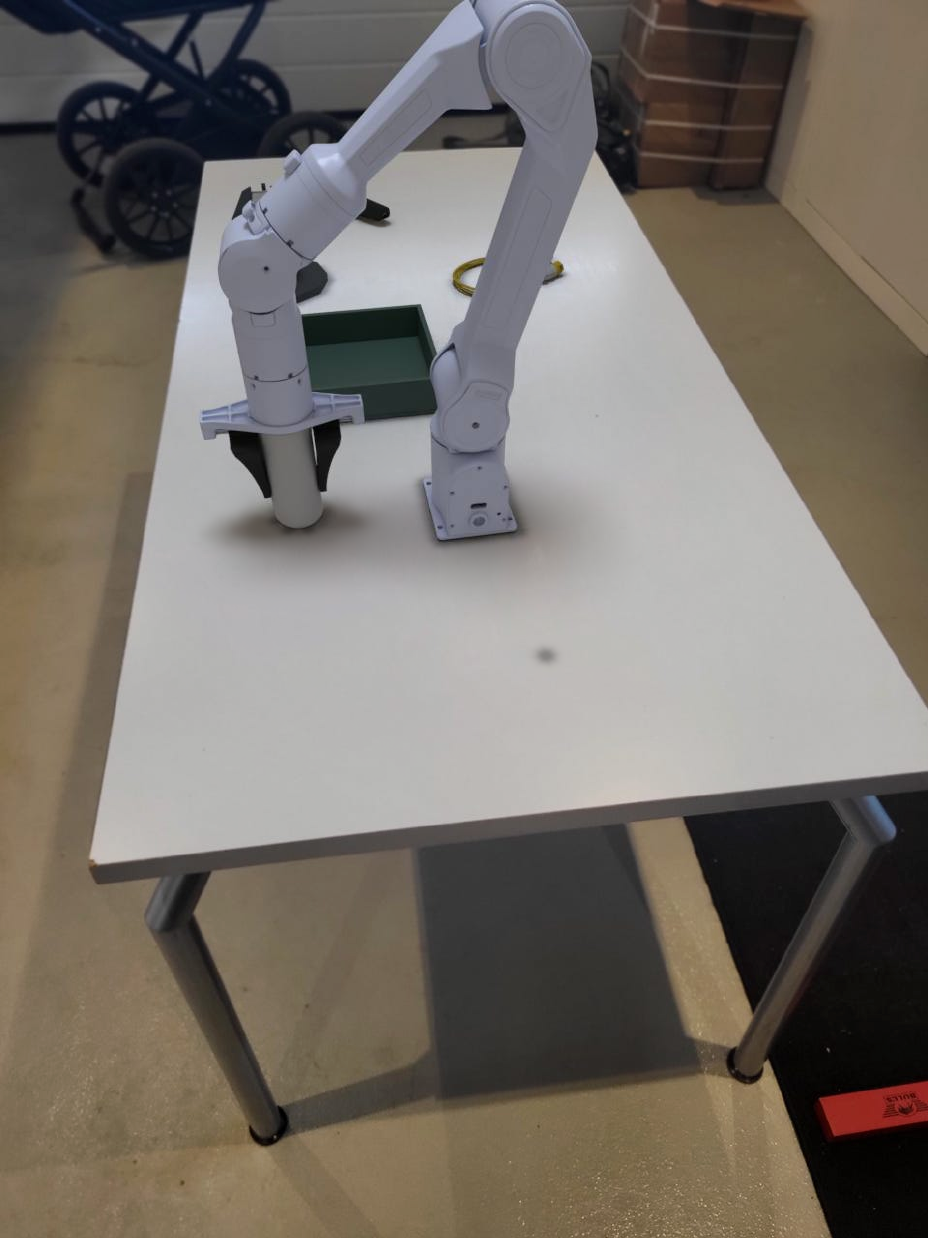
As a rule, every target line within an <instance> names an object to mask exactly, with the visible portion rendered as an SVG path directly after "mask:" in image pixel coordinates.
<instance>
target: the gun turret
mask: <svg viewBox="0 0 928 1238" xmlns="http://www.w3.org/2000/svg"><path fill="white" fill-rule="evenodd" d="M272 186H273V185H269V189H270V188H271V187H272ZM260 187H261V190H255V191H254V190H253V191H252V186H251V185H250V186H248V187H246V188H244V189H243V190H241V192H240V195H239V197H238V200H237V203H236V206H235V208H234V211H233V214H232V216H231V219H230V221H232V220H233V219H234V218H236V217H238V216H239V215H242V209H243V207H244V206H245V205H246V204H247V203H248V202H249V201H250V200H251V201H253V202H254V203H255V204H256V203H257V202H258V201H259V200H260V199H261V198H262V197H263V195H264V194H265V193H266V192H267V191H268V190H267V189H266V183H265V182H261V183H260ZM328 279H329V277H328V273H327V271H326V270H325V269H324V268H323V266H321V265H320V263H319V262H318V261H314V260H313V261H312V262H311V263H310V264H309V265H307V266H305V267H303V268H301V269H300V270H298V272H297V275H296V288H295V296H296V303H297V304H299V303H301V302H303V301H305V300H308V299H310V298H313V297H316V296H317V295H320V294H321V293H322V291H323V290H324V288H325V286H326V285H327V283H328V281H329V280H328Z"/></svg>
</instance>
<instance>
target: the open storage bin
mask: <svg viewBox="0 0 928 1238" xmlns="http://www.w3.org/2000/svg"><path fill="white" fill-rule="evenodd" d="M301 318H302V325H303V332H304V339H305V347H306V354H307V361H308V368H309V375H310V382H311V389H312V392H318V393H329V394H339V395H358V394H360V395H361V397H362V402H363V409H364V420H365V421H370V420H379V419H380V420H381V419H390V418H399V417H408V416H418V415H427V414H428V415H429V414H435V412H436V410H437V408H438V406H437V401H436V396H435V391H434V388H433V385H432V383H431V380H430V367H431V364H432V361H433V359H434V357H435V356H436V355H437V353H438V352H437V349H436V346H435V343H434V339H433V337H432V334H431V331H430V328H429V325H428V321H427V318H426V316H425V312H424V310H423V306H422V304H421V303H417V304H404V305H391V306H381V307H370V308H359V309H348V310H347V309H346V310H345V309H344V310H334V311H324V312H313V313H312V312H311V313H301ZM350 422H351V423H353V422H352V421H344V422H339V423H340V424H341V423H350Z"/></svg>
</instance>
